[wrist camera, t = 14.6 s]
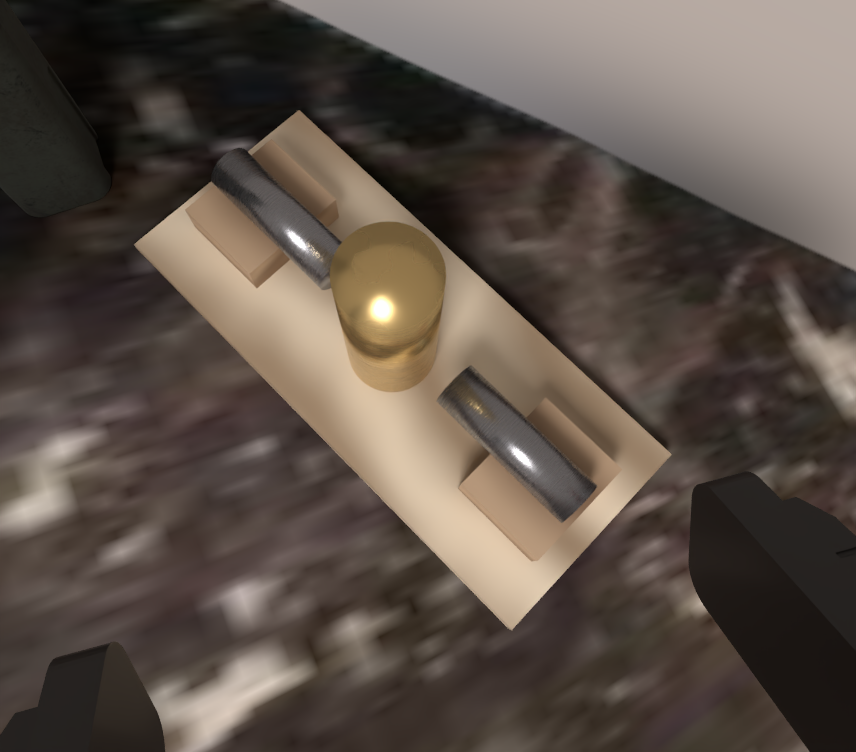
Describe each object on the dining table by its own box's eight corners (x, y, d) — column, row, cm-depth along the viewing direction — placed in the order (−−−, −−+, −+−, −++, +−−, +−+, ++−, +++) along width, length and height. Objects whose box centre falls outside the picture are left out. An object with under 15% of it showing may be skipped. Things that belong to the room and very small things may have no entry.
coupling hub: (390, 410, 38) (386, 353, 29) (329, 348, 39) (305, 272, 30) (454, 350, 39) (470, 275, 30) (393, 292, 40) (389, 200, 30)
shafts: (556, 524, 35) (567, 520, 33) (217, 194, 39) (206, 169, 37) (589, 488, 36) (603, 482, 33) (252, 165, 40) (243, 139, 37)
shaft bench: (508, 628, 37) (517, 632, 34) (140, 252, 41) (120, 227, 38) (664, 457, 39) (685, 447, 36) (301, 120, 44) (294, 87, 41)
